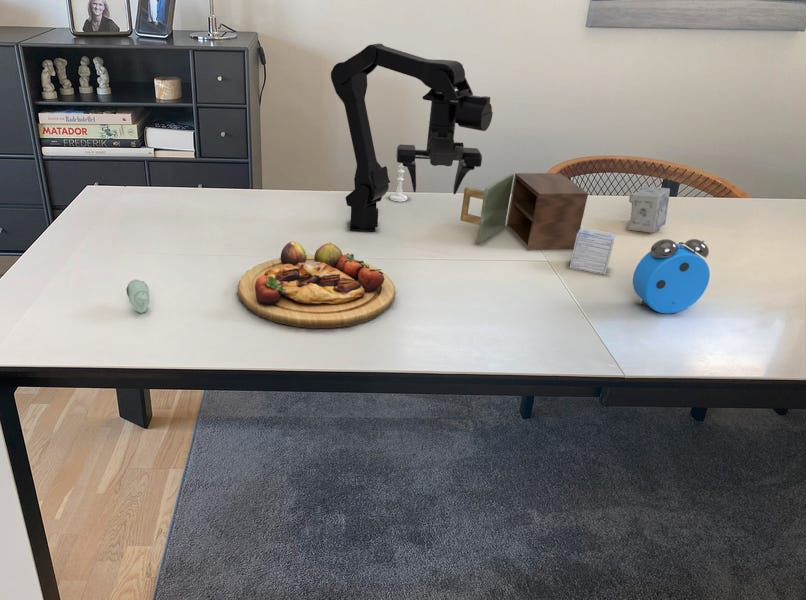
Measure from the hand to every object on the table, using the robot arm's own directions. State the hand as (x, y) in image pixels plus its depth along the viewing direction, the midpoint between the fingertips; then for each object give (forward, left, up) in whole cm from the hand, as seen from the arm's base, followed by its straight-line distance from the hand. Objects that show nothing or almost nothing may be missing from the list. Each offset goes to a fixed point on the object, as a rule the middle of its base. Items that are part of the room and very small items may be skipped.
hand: (434, 192), depth 162 cm
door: (+14, +11, -13) cm, 22 cm away
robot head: (-58, -42, -13) cm, 73 cm away
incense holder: (+58, +20, -13) cm, 63 cm away
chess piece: (-6, +34, -13) cm, 37 cm away
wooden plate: (-25, -30, -13) cm, 41 cm away
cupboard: (+29, +9, -13) cm, 33 cm away
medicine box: (+36, -9, -13) cm, 39 cm away
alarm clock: (+46, -28, -13) cm, 55 cm away
